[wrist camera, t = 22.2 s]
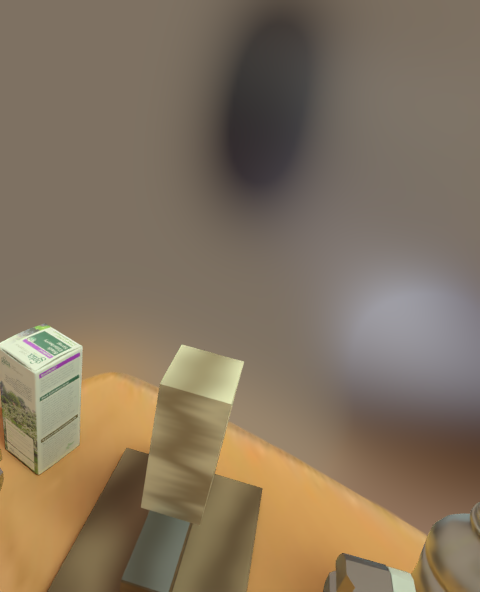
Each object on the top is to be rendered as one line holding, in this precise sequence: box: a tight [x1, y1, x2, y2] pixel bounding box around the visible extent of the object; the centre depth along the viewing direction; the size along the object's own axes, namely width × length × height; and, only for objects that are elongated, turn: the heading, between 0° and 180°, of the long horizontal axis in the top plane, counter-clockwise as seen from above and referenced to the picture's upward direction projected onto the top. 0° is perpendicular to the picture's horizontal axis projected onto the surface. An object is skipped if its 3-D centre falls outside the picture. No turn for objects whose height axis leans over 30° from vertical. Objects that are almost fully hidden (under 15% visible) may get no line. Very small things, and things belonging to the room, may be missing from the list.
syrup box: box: [0, 324, 82, 475], centre depth 45 cm, size 6×6×14 cm
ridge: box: [47, 448, 262, 592], centre depth 39 cm, size 16×18×9 cm
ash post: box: [141, 345, 244, 526], centre depth 34 cm, size 5×5×13 cm
